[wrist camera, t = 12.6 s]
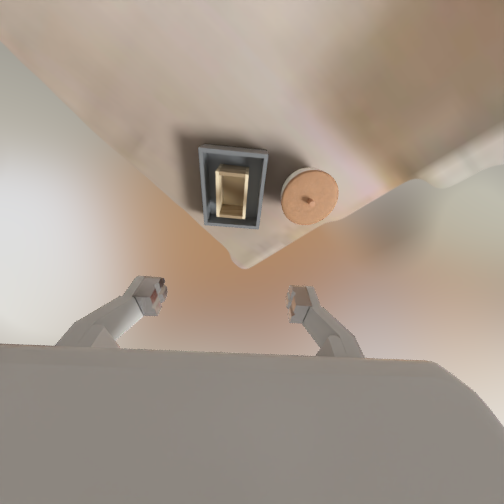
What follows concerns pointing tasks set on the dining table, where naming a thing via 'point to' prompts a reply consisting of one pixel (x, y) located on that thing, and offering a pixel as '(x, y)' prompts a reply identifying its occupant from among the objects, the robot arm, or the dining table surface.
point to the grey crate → (257, 166)
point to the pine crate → (231, 191)
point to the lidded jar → (308, 196)
